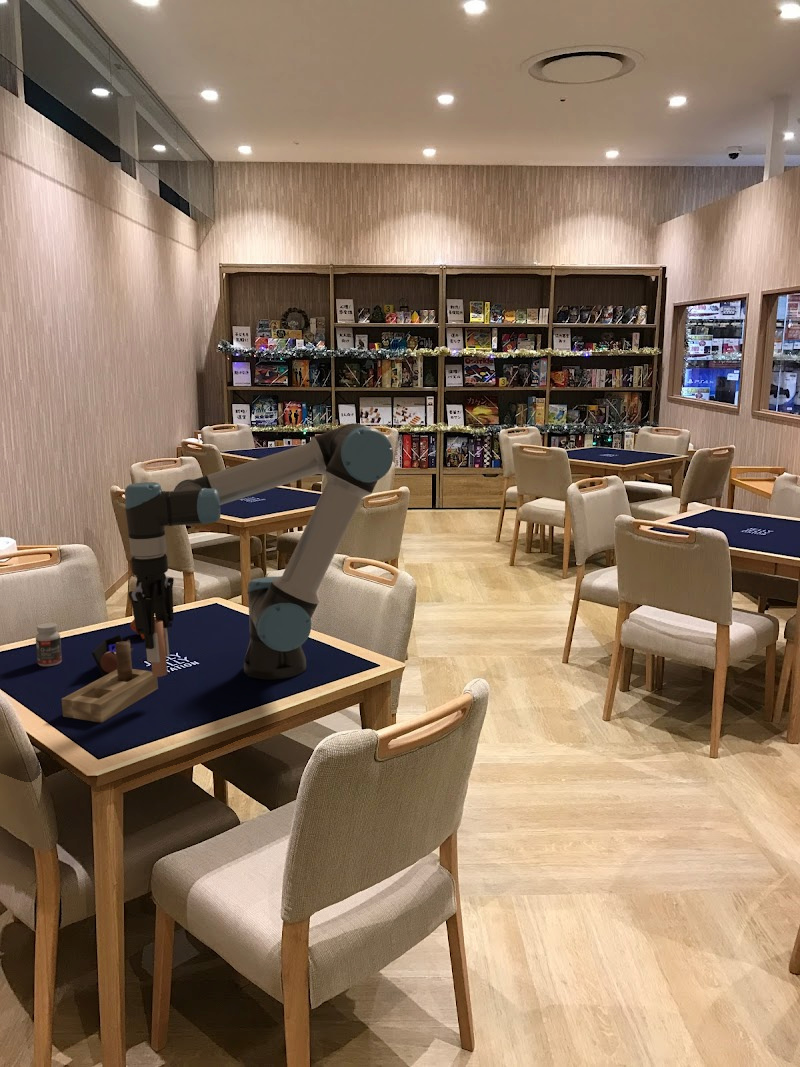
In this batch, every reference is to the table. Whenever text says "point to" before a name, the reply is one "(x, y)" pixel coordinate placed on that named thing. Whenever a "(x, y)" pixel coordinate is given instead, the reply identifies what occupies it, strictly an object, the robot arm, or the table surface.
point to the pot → (135, 627)
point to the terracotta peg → (160, 652)
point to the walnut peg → (124, 661)
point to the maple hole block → (108, 696)
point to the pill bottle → (48, 645)
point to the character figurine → (107, 655)
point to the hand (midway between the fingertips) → (158, 658)
